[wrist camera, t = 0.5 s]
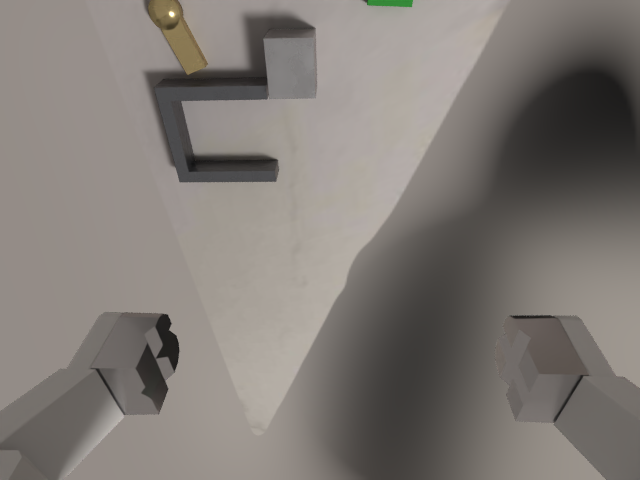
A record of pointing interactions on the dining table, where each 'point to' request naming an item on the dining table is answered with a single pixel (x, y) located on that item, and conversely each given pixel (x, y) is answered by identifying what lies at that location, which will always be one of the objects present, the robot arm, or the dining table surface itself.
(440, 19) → the dining table surface
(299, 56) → the block
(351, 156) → the dining table surface
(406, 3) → the pipe clamp
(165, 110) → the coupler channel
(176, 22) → the brass key
